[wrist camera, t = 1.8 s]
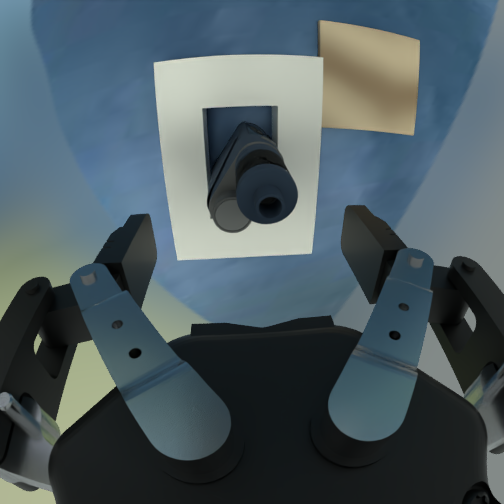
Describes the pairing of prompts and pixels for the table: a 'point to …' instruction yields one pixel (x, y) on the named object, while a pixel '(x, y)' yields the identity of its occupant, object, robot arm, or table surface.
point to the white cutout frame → (197, 148)
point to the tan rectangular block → (368, 78)
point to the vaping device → (250, 182)
